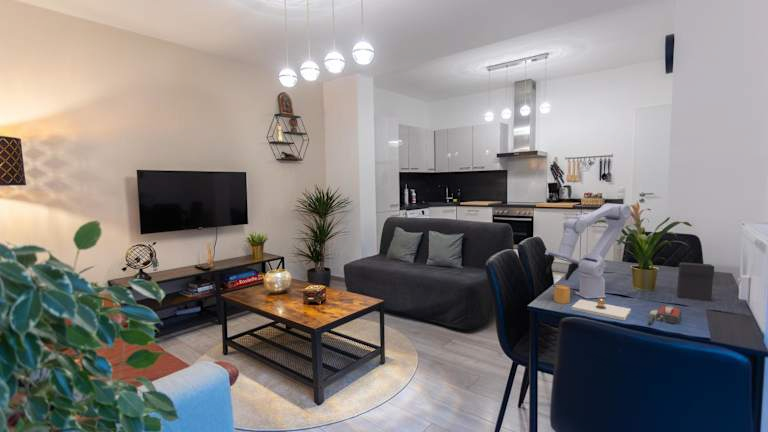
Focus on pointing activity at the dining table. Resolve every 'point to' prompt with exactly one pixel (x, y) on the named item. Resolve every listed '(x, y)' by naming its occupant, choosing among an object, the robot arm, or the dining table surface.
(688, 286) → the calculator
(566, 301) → the cap
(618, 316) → the plate
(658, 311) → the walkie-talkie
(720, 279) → the dining table surface
